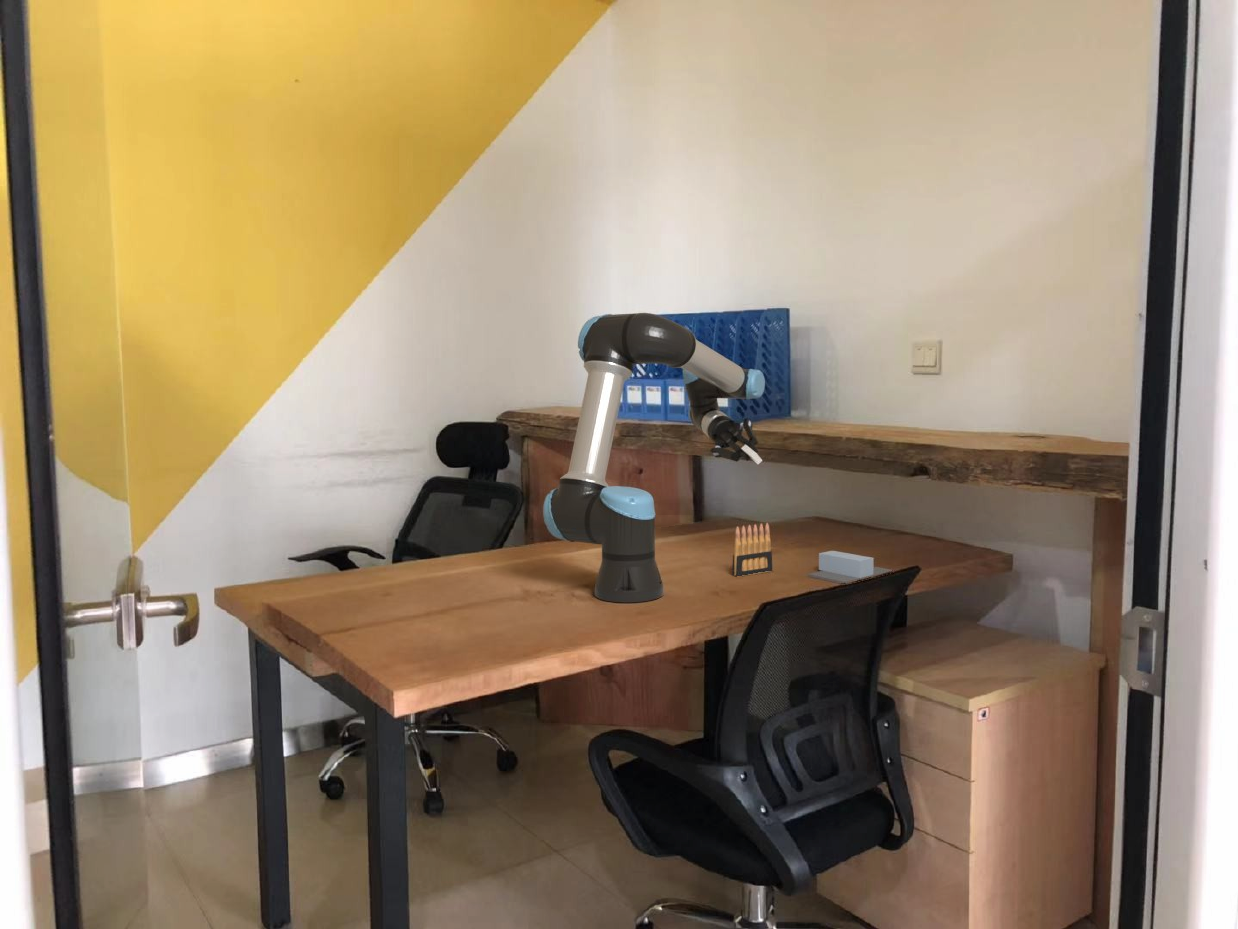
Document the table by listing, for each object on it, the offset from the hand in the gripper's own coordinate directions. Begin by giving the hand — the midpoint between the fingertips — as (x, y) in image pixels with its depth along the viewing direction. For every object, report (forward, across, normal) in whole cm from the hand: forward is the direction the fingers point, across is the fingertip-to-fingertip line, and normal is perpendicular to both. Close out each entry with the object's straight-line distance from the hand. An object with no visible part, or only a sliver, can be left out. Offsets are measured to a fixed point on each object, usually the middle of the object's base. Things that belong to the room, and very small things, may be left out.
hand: (757, 458), depth 227 cm
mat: (+19, +2, -30) cm, 35 cm away
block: (+12, +4, -26) cm, 30 cm away
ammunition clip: (+10, +20, -17) cm, 28 cm away
